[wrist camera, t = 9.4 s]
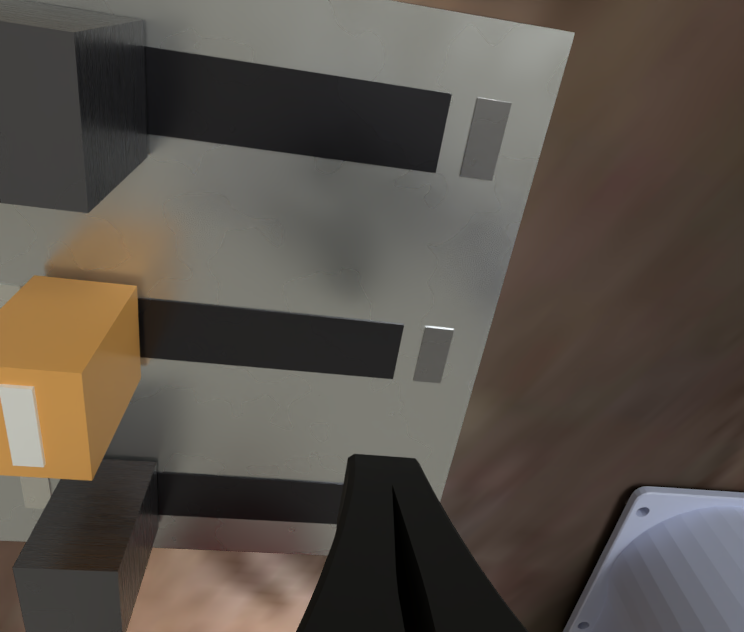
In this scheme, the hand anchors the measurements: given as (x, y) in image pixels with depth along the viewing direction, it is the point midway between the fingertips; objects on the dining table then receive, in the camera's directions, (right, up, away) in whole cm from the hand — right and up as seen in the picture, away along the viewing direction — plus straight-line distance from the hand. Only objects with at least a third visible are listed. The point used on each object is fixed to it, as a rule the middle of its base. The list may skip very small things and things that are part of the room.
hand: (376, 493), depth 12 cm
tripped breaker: (-7, +3, +3) cm, 9 cm away
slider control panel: (-4, +4, +6) cm, 8 cm away
